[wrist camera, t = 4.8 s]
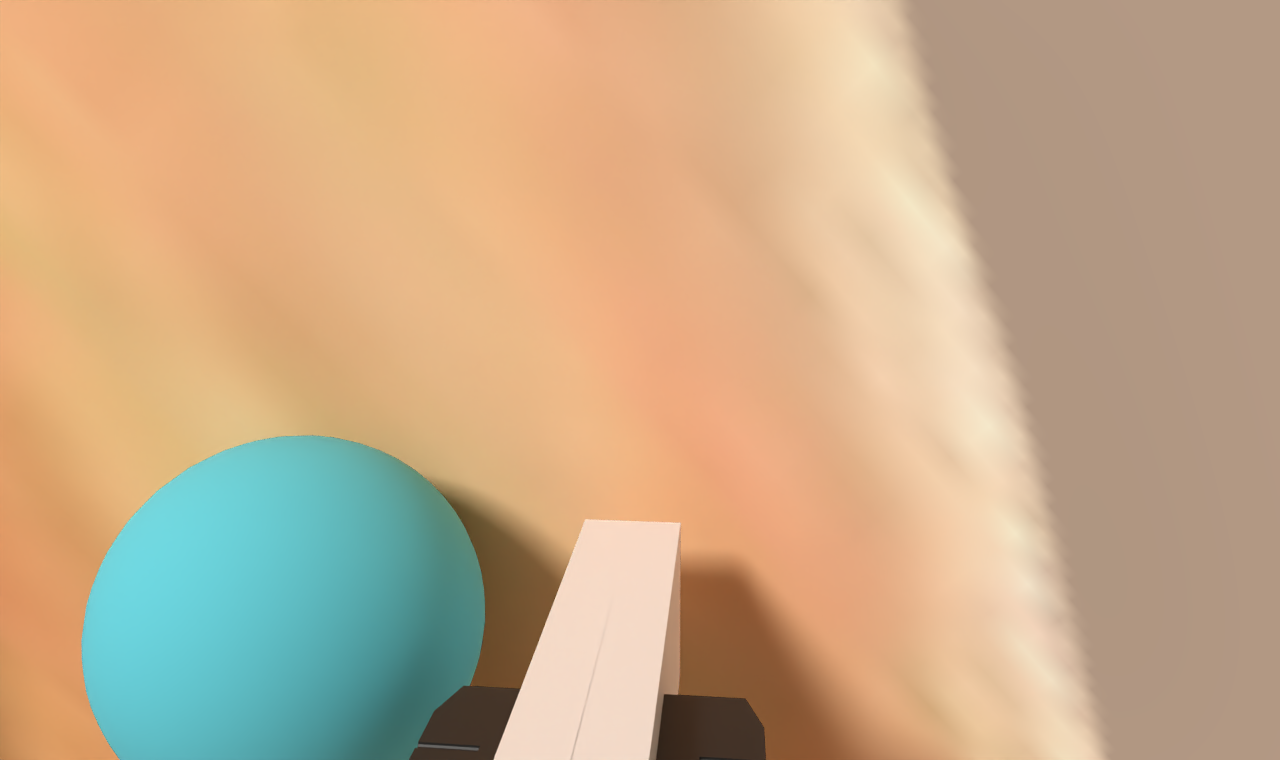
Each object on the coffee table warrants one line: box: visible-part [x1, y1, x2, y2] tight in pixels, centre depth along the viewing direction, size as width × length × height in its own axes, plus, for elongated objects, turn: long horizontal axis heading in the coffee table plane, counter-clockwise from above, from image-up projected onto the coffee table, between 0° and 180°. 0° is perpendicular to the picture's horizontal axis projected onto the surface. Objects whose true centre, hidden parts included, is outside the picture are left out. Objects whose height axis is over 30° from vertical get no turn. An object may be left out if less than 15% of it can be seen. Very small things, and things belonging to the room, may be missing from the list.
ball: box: [82, 435, 485, 760], centre depth 13 cm, size 6×6×6 cm
